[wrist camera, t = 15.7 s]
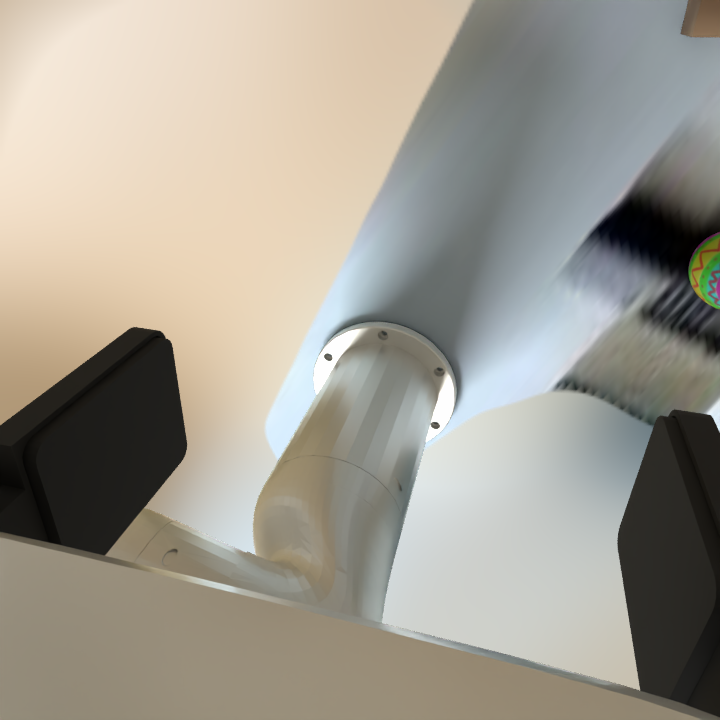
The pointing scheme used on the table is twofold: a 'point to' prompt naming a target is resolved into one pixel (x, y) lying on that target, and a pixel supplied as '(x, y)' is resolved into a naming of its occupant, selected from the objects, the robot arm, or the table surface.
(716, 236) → the egg
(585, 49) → the table surface
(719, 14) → the walnut block
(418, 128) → the table surface
